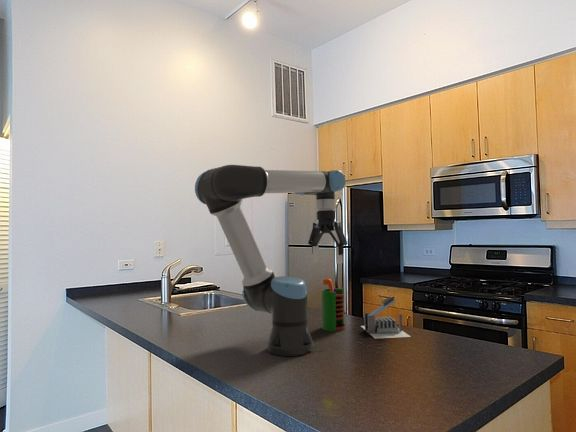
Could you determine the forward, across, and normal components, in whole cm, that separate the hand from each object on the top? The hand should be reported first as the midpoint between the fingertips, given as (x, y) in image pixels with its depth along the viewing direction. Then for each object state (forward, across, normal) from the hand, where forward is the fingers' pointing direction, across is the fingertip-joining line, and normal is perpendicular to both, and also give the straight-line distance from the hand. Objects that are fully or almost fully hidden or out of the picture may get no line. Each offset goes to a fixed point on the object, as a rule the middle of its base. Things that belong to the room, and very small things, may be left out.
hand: (327, 262), depth 166 cm
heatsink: (+25, -22, -8) cm, 34 cm away
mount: (+25, -22, -8) cm, 34 cm away
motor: (+26, -5, +3) cm, 27 cm away
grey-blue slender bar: (+17, -21, -7) cm, 28 cm away
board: (+26, -22, -8) cm, 35 cm away
